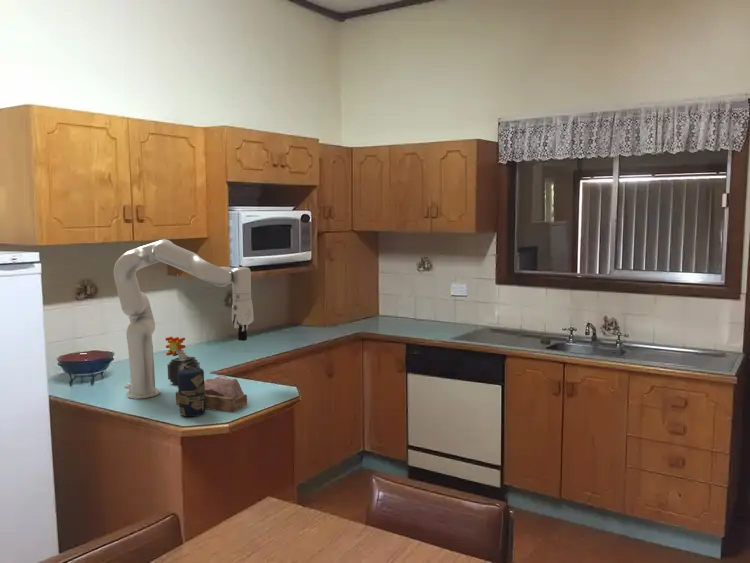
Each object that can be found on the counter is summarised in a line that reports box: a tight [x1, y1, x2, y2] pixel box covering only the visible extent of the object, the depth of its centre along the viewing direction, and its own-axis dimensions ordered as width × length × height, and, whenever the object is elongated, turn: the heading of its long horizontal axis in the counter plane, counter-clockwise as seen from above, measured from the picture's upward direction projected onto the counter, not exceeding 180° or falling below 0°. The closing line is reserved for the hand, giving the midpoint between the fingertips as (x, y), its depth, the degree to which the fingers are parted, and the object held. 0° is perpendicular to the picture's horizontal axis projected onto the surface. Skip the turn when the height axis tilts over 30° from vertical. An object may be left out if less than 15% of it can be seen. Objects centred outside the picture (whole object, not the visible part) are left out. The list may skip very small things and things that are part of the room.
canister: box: [177, 367, 207, 417], centre depth 245 cm, size 10×10×18 cm
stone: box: [204, 375, 245, 398], centre depth 260 cm, size 8×20×13 cm
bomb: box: [165, 336, 201, 386], centre depth 287 cm, size 8×13×20 cm, turn 67°
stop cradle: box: [175, 391, 248, 413], centre depth 257 cm, size 26×10×5 cm, turn 68°
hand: (242, 340), depth 276 cm, fingers closed
